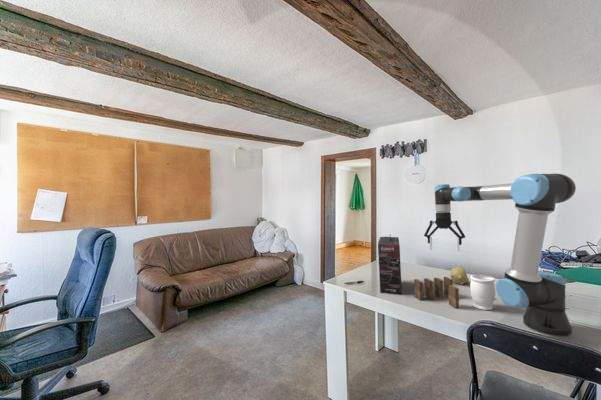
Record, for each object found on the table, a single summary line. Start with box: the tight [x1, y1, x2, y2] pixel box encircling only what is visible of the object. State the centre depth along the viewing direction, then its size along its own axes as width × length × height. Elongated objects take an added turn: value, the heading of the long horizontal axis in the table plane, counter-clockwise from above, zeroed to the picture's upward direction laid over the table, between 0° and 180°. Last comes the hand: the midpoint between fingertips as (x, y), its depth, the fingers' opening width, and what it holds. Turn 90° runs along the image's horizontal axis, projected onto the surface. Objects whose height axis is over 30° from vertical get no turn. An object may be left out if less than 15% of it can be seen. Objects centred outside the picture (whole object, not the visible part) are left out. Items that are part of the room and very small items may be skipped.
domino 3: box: [433, 277, 444, 300], centre depth 150 cm, size 2×5×10 cm, turn 9°
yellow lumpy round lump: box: [449, 266, 470, 286], centre depth 171 cm, size 10×12×11 cm
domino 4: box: [443, 276, 454, 298], centre depth 151 cm, size 2×5×10 cm, turn 9°
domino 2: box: [423, 278, 434, 300], centre depth 149 cm, size 2×5×10 cm, turn 9°
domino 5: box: [448, 284, 460, 309], centre depth 137 cm, size 2×5×10 cm, turn 9°
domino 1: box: [413, 278, 424, 302], centre depth 148 cm, size 2×5×10 cm, turn 9°
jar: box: [469, 274, 496, 311], centre depth 135 cm, size 11×10×15 cm
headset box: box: [377, 233, 402, 295], centre depth 168 cm, size 24×13×33 cm, turn 161°
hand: (444, 250), depth 150 cm, fingers open, 13 cm apart
